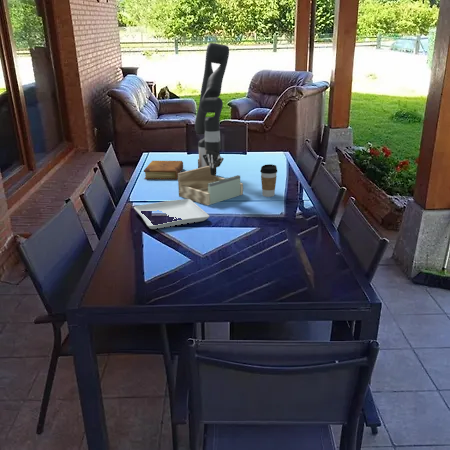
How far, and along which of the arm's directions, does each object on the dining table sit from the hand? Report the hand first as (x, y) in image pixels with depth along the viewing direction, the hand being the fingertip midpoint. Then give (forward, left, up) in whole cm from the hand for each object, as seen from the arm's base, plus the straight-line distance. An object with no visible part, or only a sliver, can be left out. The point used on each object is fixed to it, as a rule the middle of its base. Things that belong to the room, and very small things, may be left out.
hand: (213, 175), depth 245 cm
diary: (-53, +9, -12) cm, 55 cm away
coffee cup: (+19, +20, -11) cm, 29 cm away
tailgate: (+9, 0, -11) cm, 14 cm away
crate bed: (-1, 0, -11) cm, 11 cm away
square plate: (+9, -34, -12) cm, 37 cm away
